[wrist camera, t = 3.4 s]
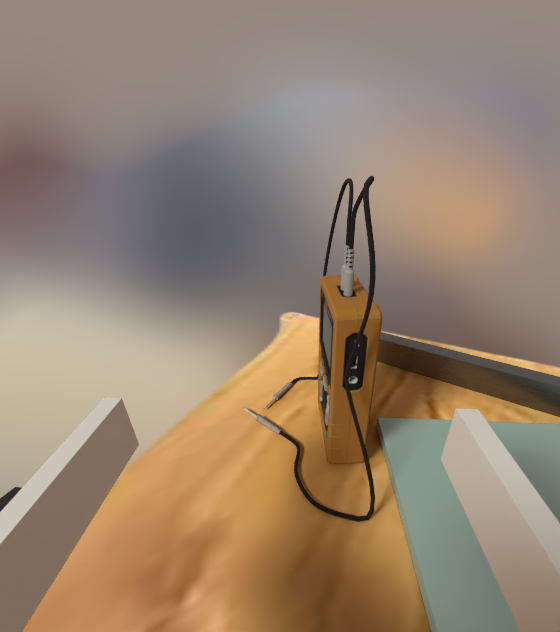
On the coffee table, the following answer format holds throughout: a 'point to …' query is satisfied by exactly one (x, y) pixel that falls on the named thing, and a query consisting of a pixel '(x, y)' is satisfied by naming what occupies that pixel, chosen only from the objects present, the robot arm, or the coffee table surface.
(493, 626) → the plate
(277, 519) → the coffee table surface
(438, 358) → the guide rail
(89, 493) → the robot arm
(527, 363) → the coffee table surface
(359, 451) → the corded orange upright block
